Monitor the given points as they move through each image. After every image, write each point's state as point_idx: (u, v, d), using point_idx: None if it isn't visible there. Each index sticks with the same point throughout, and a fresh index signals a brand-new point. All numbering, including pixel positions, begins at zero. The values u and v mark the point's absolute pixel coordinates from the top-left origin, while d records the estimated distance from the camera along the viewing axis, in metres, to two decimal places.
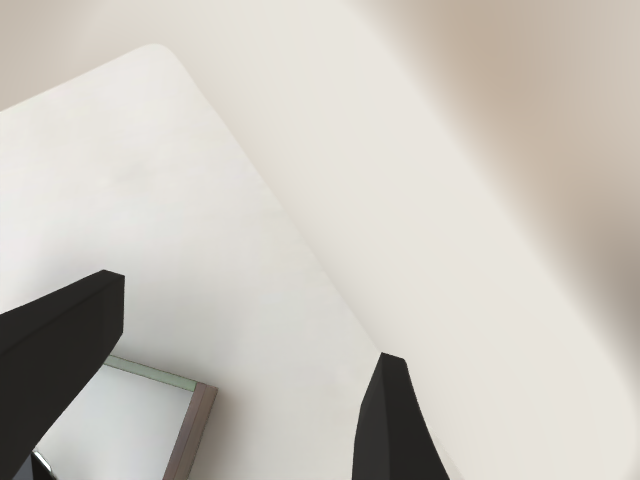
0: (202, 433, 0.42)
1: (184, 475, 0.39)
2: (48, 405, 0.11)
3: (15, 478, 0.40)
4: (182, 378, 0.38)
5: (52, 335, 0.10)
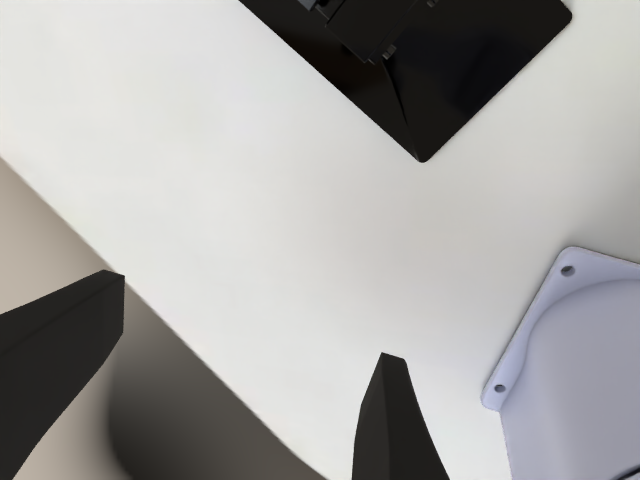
0: None
1: None
2: (48, 405, 0.11)
3: None
4: None
5: (52, 335, 0.10)
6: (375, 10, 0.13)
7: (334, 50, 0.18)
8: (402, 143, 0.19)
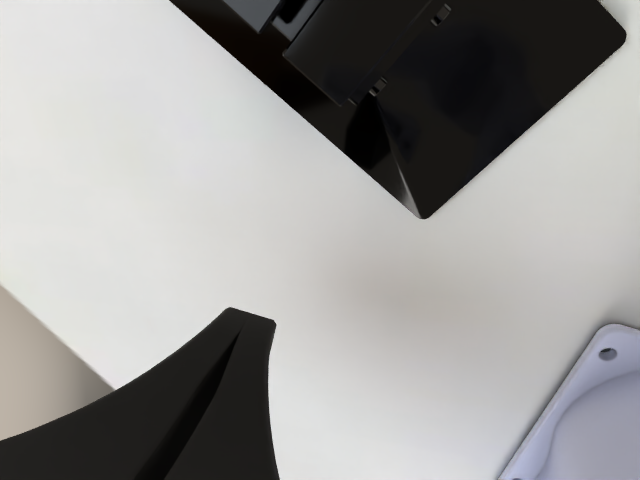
0: None
1: None
2: None
3: None
4: None
5: (207, 382, 0.10)
6: (354, 33, 0.09)
7: (307, 78, 0.13)
8: (397, 195, 0.15)
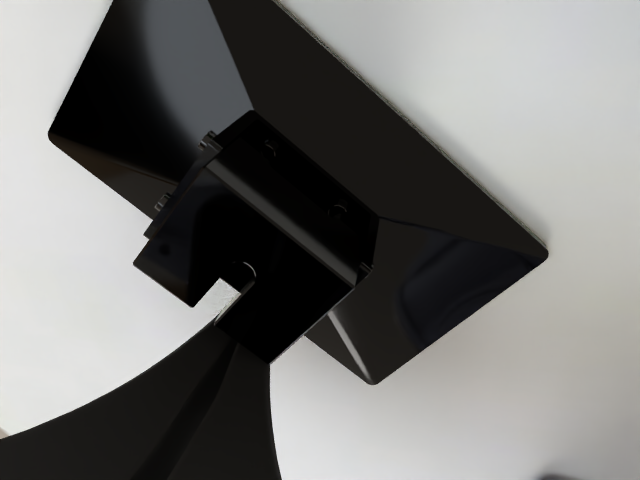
0: None
1: None
2: None
3: (156, 11, 0.12)
4: None
5: (206, 382, 0.10)
6: (277, 316, 0.10)
7: None
8: (346, 365, 0.16)
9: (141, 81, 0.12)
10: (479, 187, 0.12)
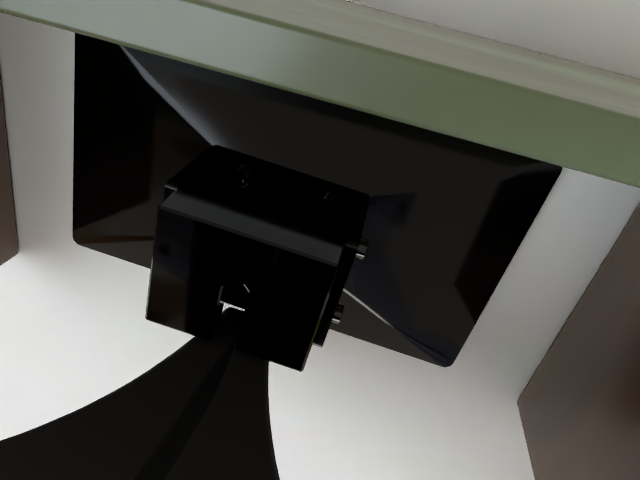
0: None
1: None
2: None
3: (107, 96, 0.13)
4: None
5: (208, 383, 0.10)
6: (284, 320, 0.10)
7: None
8: (413, 354, 0.15)
9: (121, 161, 0.13)
10: None
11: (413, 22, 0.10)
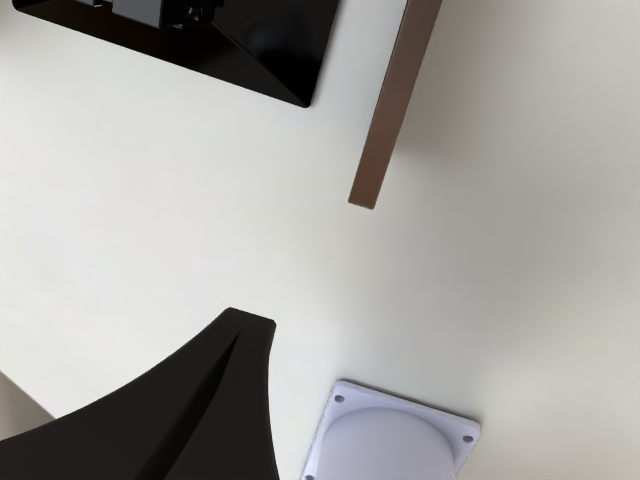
0: None
1: None
2: None
3: None
4: None
5: (207, 383, 0.10)
6: None
7: (178, 39, 0.18)
8: (280, 97, 0.19)
9: None
10: None
11: None
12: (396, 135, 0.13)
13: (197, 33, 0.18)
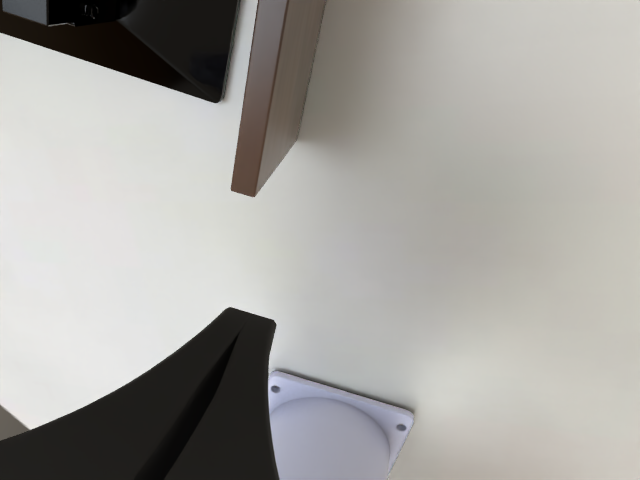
0: None
1: (300, 81, 0.17)
2: None
3: None
4: None
5: (207, 383, 0.10)
6: None
7: (89, 37, 0.19)
8: (191, 92, 0.20)
9: None
10: None
11: None
12: (266, 124, 0.14)
13: (106, 31, 0.19)
